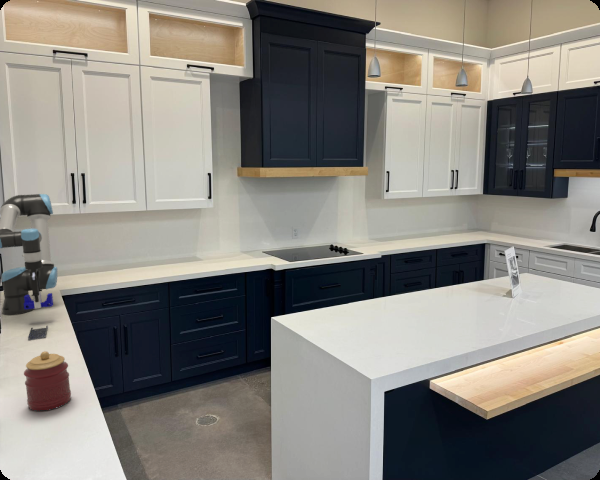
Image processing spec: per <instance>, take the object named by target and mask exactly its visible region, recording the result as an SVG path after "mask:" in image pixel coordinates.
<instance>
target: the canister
mask: <svg viewBox="0 0 600 480" xmlns="http://www.w3.org/2000/svg"><path fill="white" fill-rule="evenodd" d="M68 367H69V364H68V363H67V362H66V361H65V357H64V356H63V355H61V354H60V355H59V353H49V352H48V351H45V350H44V351H42V352H41V353H40V355H38V356H34V357H33V358H31V360H30V361H28V362H27V363H26V365H25V368H26V369H25V370H24V371H23V375H24V376H25V377H26V380H25V382H24V385H25V389H26V398H27V399H26V402H27V406H28V408H29V409H30V410H31V409H32V410H31V411H34V410H37V411H36V412H41V411H40V410H47V411H50V410H49V409H52V410H54V409H53V408H56V407H58V408H60V407H59V406H61V405H63V406H64V404H65V403H66V404H68V403H69V402H70V400H71V396H72V391H71V386H70V385H71V384H70V373H69V372H68ZM68 401H69V402H68ZM66 404H65V405H66ZM61 407H62V406H61ZM56 409H57V408H56ZM38 410H39V411H38Z"/></svg>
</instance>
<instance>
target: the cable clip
mask: <svg viewBox="0 0 600 480" xmlns="http://www.w3.org/2000/svg"><path fill="white" fill-rule="evenodd" d="M53 298H54V296H53V293H51V292H50V293H48V294H47V295H46V299H45V301H43V302H42V303H41V308H48V307H53V306H54V299H53ZM24 300H25V303H24V309H33V310H34V309H35V306H34V299H33V298H32V297H31V295H30V294H29V295H26V296H24ZM35 310H36V309H35Z"/></svg>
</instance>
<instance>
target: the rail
mask: <svg viewBox="0 0 600 480" xmlns="http://www.w3.org/2000/svg"><path fill="white" fill-rule="evenodd" d="M48 330H49V326H48V325H46V326H45V327H41V328H34V329H33V327H31V328H30V330H29V334H28V336H27V341H35V340H36V341H37V340H40V339H46V338H47V334H48Z"/></svg>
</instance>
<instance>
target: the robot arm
mask: <svg viewBox="0 0 600 480" xmlns="http://www.w3.org/2000/svg"><path fill="white" fill-rule="evenodd" d="M51 215H54V210H53V206H52V202H51V197H50V196H49V194H45V193H36V194H18V195H14V196H11V197H9V198H8V199H6V200H5V201H4V203H2V205H1V207H0V249H3V248H4V249H5V248H16V247H18V248H19V247H22V250H23V252H22V253H23V254H22V255H21V256H22V257H23V260H24V266H22V267H21V266H20V267H15V268H10V269H7V270H5V271H4V272H2V274H1V283H2V288H3V297H4V299H3V303H2V304H3V305H2V308H1V310H2V311H1V312H2V314H3V315H6V316H9V315H10V316H12V315H13V316H14V315H21V314H26V313H29V312H32V311H33V310H34V309H24V303H25V300H24V296H26V295H30V294H29V292H30V291H32V294H31V297H32V299H33V301H34V306H35V310H36V309H41V308H42V307H41V303H42V292H43V290H49V289H54V288H56V287H57V283H58V267H57V266H55V264H54V263H53V262H52V259H51V257H52V256H51V248H50V246H51V245H50V233H49V219H51ZM25 216H26V217H27V220H29V221H30V228H25V229H22V230H20V231H16V226H17V222H18V221H17V220H18V218H19V217H25Z"/></svg>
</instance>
